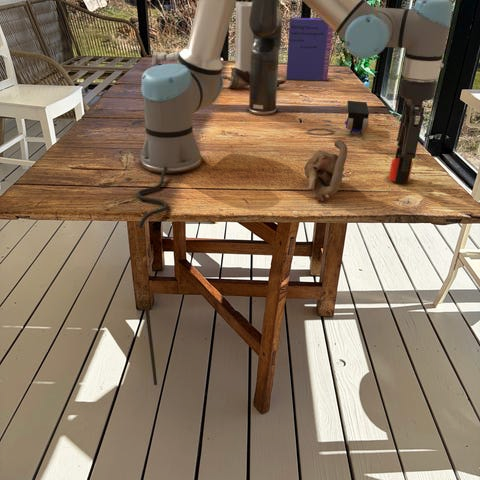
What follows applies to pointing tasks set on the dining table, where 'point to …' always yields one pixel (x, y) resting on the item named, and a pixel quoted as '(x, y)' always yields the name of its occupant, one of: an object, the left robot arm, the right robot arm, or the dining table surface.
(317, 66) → the cereal box
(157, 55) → the toy
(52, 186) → the dining table surface
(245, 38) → the tall white carton
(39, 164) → the dining table surface
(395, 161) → the tin
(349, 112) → the figurine character
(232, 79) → the figurine
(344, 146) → the brown monkey figure
